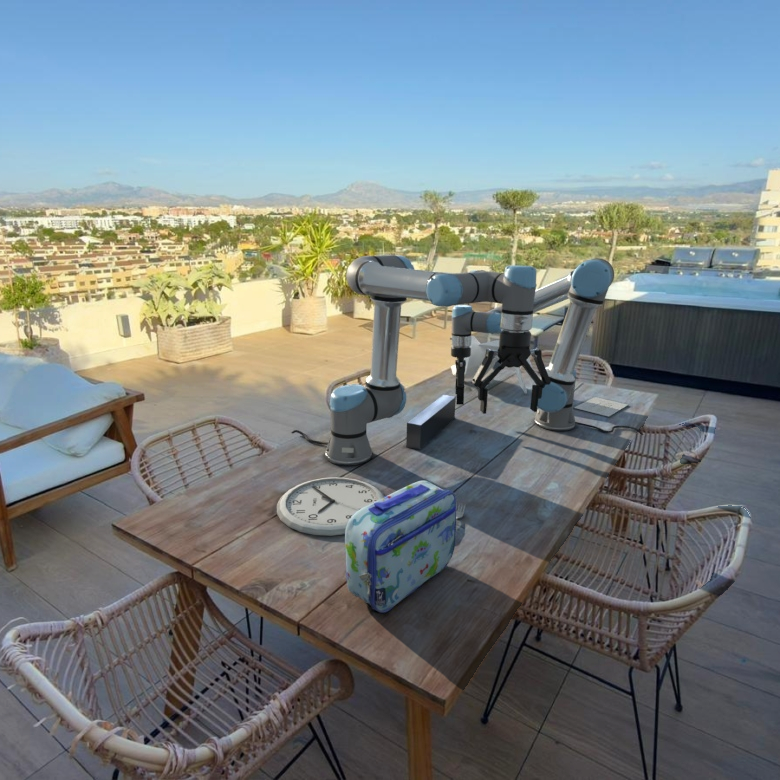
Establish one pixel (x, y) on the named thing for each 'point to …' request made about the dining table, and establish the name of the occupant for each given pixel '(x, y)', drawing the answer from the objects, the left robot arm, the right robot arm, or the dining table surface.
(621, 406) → the invitation card
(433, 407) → the bar
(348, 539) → the lunch box
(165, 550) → the dining table surface
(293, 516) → the wall clock
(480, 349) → the white plastic object
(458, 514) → the fork
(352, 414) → the left robot arm
